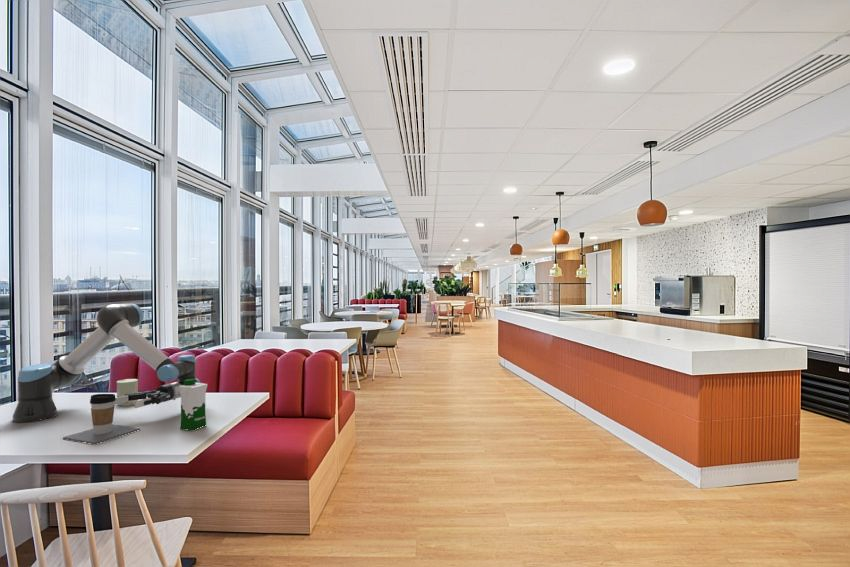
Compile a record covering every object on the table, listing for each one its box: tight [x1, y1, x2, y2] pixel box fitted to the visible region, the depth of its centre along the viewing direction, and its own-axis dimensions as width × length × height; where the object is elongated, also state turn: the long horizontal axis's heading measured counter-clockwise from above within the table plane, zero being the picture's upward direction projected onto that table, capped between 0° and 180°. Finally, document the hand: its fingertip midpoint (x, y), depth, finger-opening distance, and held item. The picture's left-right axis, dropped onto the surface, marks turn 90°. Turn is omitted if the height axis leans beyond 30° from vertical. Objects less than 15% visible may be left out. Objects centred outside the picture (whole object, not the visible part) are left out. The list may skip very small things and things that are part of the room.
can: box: [116, 378, 139, 406], centre depth 227 cm, size 9×9×12 cm
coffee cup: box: [89, 393, 117, 435], centre depth 178 cm, size 8×8×15 cm
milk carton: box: [179, 379, 208, 431], centre depth 187 cm, size 9×9×20 cm
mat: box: [62, 423, 141, 445], centre depth 178 cm, size 18×18×1 cm
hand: (123, 403), depth 186 cm, fingers open, 13 cm apart
